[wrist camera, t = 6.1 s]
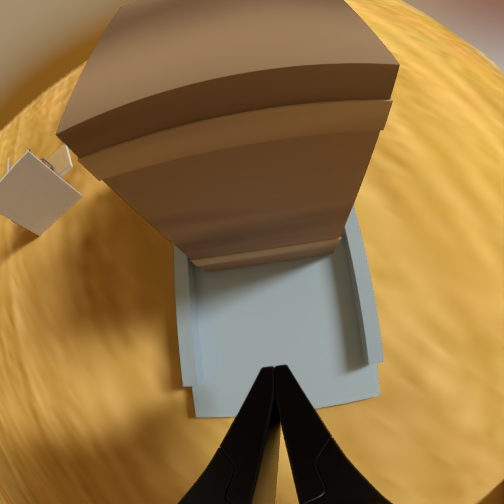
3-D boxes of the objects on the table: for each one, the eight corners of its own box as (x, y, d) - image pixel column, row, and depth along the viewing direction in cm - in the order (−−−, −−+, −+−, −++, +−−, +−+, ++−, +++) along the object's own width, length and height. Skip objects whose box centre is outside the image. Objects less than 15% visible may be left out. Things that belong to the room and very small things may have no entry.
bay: (377, 393, 14) (467, 440, 5) (198, 415, 14) (103, 474, 6) (320, 124, 19) (325, 11, 10) (183, 146, 20) (130, 48, 11)
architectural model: (37, 212, 22) (-17, 176, 15) (88, 165, 22) (38, 116, 15) (42, 239, 20) (-19, 205, 13) (96, 190, 21) (40, 139, 14)
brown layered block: (334, 254, 15) (402, 66, 4) (205, 273, 16) (53, 137, 5) (309, 148, 18) (308, -32, 6) (200, 166, 18) (118, 8, 7)
